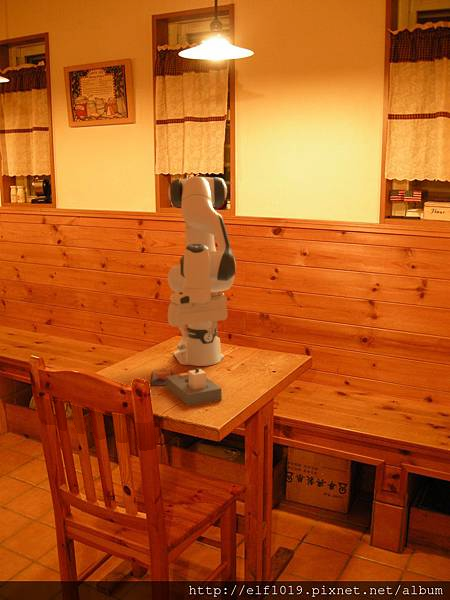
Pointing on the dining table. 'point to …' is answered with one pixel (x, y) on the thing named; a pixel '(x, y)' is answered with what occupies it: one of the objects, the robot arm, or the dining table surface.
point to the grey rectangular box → (192, 397)
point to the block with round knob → (197, 379)
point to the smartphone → (160, 377)
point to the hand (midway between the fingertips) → (198, 335)
